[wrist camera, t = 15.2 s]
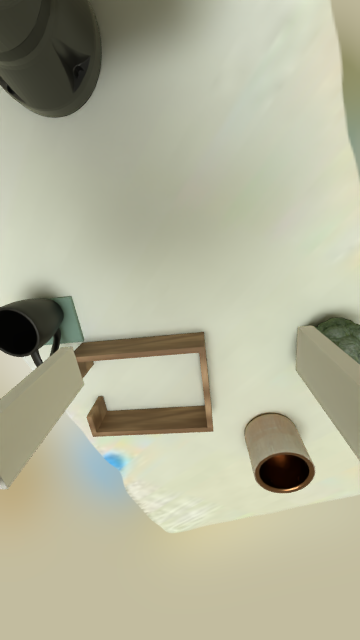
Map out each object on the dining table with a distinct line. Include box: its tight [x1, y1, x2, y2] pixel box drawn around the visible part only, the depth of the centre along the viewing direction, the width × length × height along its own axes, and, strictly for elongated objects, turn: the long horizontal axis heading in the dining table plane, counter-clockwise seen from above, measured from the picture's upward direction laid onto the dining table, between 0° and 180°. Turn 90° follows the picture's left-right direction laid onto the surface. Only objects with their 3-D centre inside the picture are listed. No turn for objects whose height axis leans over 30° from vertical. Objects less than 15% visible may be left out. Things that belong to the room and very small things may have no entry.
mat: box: [45, 296, 84, 345], centre depth 45 cm, size 9×9×1 cm
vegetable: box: [315, 318, 360, 364], centre depth 39 cm, size 12×13×15 cm
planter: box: [245, 414, 315, 493], centre depth 47 cm, size 11×11×10 cm
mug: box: [0, 299, 64, 367], centre depth 41 cm, size 8×12×10 cm
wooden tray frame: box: [74, 332, 213, 437], centre depth 46 cm, size 18×24×6 cm
